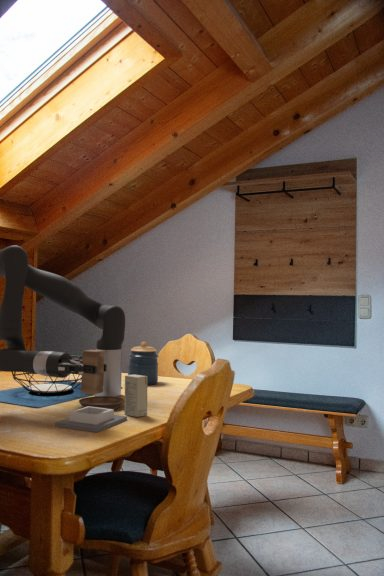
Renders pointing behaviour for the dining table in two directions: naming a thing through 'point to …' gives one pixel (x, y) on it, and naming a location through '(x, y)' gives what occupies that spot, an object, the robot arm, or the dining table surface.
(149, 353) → the canister
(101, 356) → the walnut square peg
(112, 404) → the saucer
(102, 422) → the collar holder
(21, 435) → the dining table surface
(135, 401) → the skincare box
